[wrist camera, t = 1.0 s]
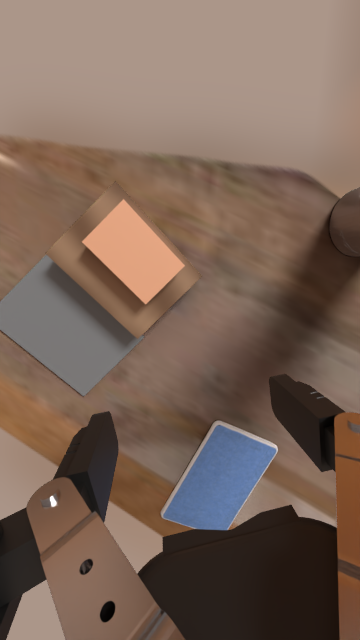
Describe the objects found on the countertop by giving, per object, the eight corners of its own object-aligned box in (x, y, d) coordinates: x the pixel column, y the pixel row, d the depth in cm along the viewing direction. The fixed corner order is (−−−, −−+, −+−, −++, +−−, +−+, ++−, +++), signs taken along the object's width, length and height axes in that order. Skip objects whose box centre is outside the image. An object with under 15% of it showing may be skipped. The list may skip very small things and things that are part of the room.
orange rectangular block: (126, 206, 26) (123, 199, 24) (182, 266, 28) (185, 265, 26) (87, 244, 27) (81, 241, 24) (146, 302, 29) (145, 304, 26)
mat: (52, 250, 30) (50, 249, 30) (144, 336, 33) (144, 337, 33) (-13, 316, 30) (-16, 317, 30) (84, 395, 34) (83, 396, 34)
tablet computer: (221, 532, 42) (223, 540, 41) (157, 512, 40) (158, 519, 39) (277, 443, 40) (281, 448, 39) (214, 415, 38) (216, 420, 37)
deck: (120, 193, 30) (115, 180, 26) (195, 275, 33) (202, 275, 29) (58, 256, 30) (45, 253, 26) (139, 331, 33) (137, 339, 29)
